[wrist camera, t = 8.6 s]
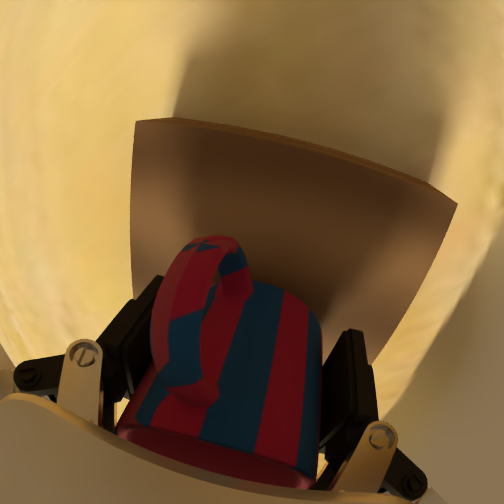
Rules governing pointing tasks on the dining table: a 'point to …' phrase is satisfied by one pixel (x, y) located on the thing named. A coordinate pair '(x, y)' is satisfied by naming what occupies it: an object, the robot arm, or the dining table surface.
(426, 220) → the walnut block
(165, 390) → the mug
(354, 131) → the dining table surface
